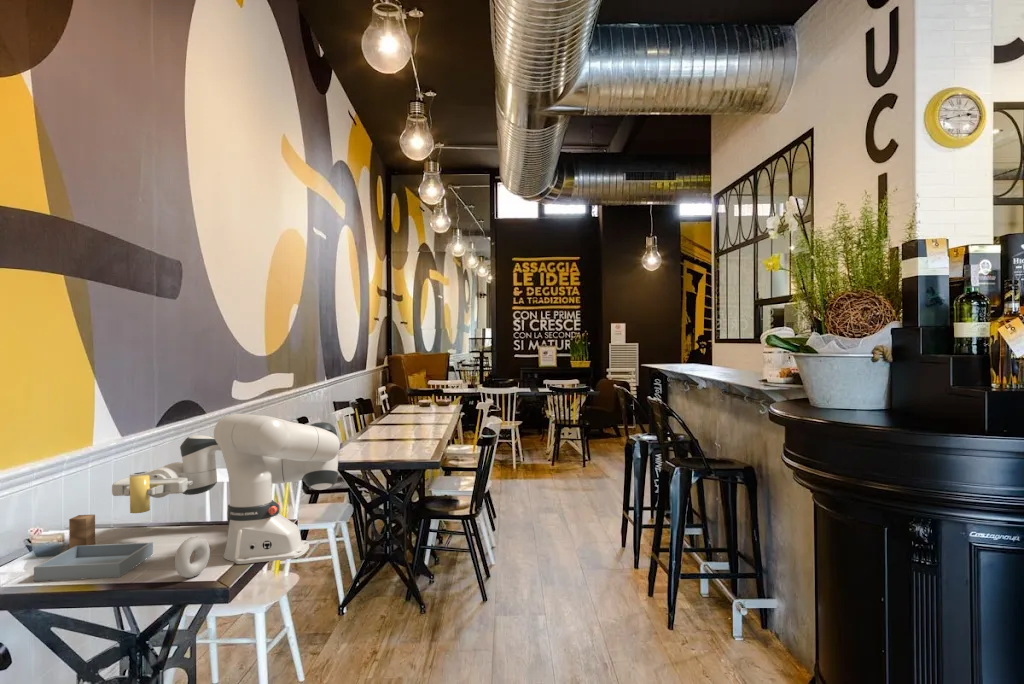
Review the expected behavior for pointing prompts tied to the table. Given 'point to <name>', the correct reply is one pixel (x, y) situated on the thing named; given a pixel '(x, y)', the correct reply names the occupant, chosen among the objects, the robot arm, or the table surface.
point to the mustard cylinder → (139, 494)
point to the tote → (93, 561)
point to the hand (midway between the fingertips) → (138, 492)
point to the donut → (185, 552)
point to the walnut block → (82, 530)
